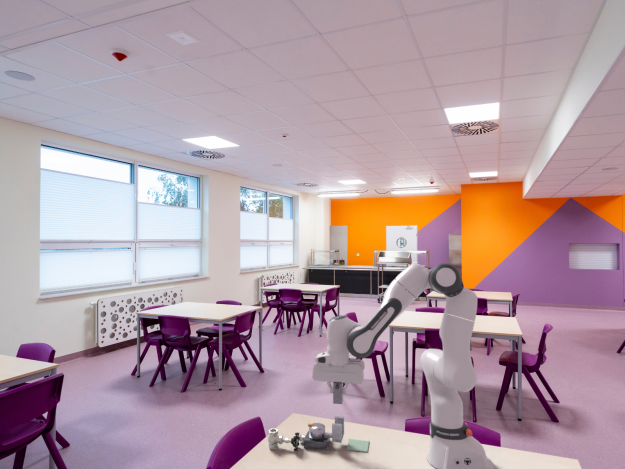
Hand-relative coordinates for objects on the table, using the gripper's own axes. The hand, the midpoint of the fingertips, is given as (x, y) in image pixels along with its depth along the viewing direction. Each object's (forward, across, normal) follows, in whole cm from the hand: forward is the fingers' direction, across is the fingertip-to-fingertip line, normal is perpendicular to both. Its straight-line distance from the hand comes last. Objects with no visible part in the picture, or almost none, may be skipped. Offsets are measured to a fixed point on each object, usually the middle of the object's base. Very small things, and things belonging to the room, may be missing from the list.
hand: (338, 392), depth 154 cm
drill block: (+21, +10, 0) cm, 23 cm away
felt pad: (+21, -8, -2) cm, 22 cm away
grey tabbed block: (+4, 0, 0) cm, 4 cm away
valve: (+21, +21, +6) cm, 30 cm away
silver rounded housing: (+17, +5, 0) cm, 18 cm away
